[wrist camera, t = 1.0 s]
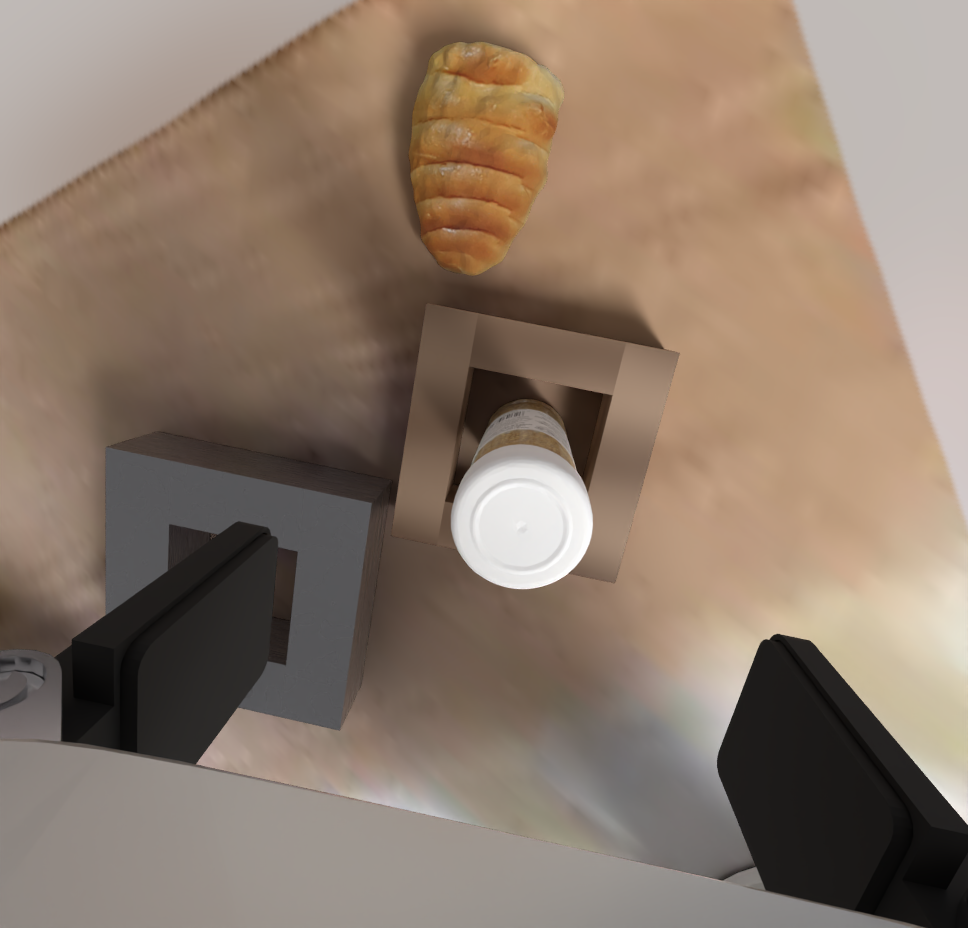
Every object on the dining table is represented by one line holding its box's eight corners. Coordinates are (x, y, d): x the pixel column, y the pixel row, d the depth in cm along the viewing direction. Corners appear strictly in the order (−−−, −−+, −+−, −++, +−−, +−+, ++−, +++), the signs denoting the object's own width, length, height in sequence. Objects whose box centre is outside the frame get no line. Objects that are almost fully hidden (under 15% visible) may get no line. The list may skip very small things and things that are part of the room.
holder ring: (607, 559, 31) (615, 583, 29) (403, 516, 32) (390, 535, 29) (665, 349, 28) (679, 352, 25) (437, 304, 29) (426, 303, 26)
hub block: (361, 685, 35) (339, 730, 31) (152, 638, 36) (105, 677, 32) (391, 480, 31) (371, 503, 27) (157, 431, 32) (105, 447, 28)
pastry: (526, 287, 28) (524, 283, 25) (399, 263, 29) (378, 254, 25) (567, 81, 26) (572, 42, 22) (427, 56, 26) (409, 13, 22)
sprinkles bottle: (498, 486, 31) (472, 608, 18) (474, 409, 30) (429, 479, 17) (577, 465, 30) (610, 575, 17) (555, 385, 29) (573, 439, 16)
